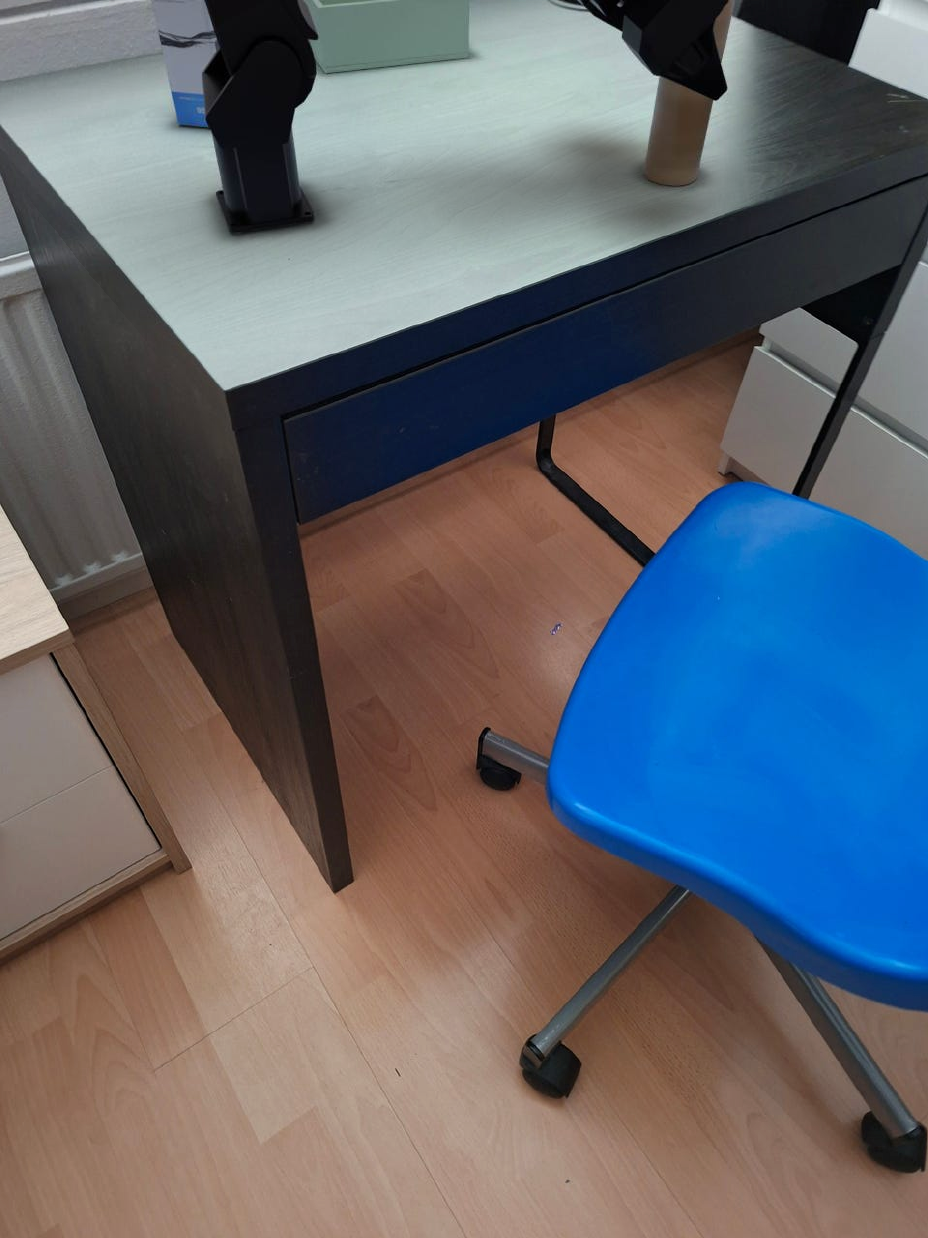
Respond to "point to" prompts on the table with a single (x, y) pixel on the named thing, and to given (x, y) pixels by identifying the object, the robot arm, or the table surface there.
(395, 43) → the tub
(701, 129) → the pepper mill
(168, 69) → the ink box
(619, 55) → the table surface
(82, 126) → the table surface
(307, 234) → the table surface
